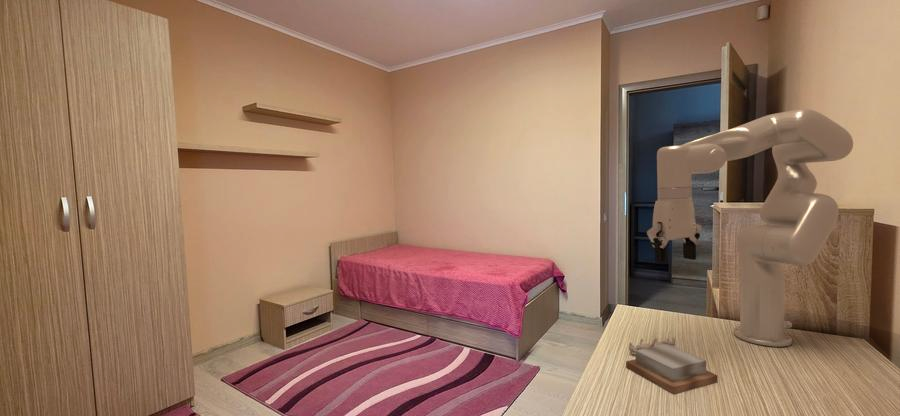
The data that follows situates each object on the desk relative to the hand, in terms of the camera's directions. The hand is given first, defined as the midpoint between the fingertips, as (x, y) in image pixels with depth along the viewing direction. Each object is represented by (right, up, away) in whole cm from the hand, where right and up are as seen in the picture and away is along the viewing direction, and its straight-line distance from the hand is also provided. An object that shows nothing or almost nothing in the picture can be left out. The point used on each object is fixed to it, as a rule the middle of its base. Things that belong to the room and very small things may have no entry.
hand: (675, 260), depth 98 cm
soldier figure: (+1, -23, +2) cm, 23 cm away
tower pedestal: (-7, -25, -10) cm, 28 cm away
